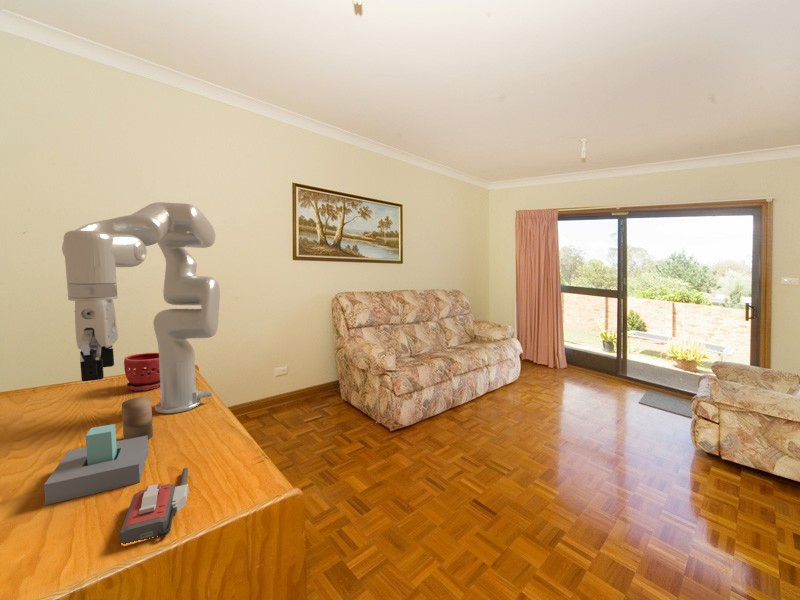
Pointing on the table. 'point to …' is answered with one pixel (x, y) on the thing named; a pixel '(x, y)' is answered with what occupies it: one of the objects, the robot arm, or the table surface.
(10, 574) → the table surface
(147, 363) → the plant pot
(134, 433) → the round plug
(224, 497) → the table surface
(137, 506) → the walkie-talkie
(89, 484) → the socket block
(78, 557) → the table surface
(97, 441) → the square peg
